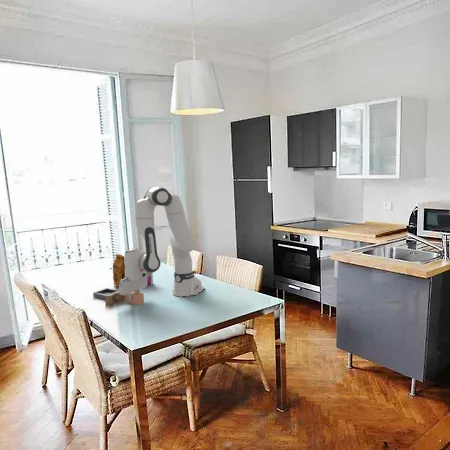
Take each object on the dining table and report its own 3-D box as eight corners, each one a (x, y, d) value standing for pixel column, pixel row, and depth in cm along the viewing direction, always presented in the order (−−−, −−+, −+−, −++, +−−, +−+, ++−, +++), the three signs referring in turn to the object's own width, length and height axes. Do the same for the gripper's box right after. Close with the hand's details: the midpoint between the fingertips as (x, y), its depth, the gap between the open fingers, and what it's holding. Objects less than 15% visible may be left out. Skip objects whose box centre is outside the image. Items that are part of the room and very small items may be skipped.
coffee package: (118, 289, 259) (116, 257, 256) (112, 285, 269) (110, 254, 266) (132, 286, 265) (131, 255, 262) (125, 282, 275) (124, 252, 271)
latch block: (129, 299, 238) (129, 290, 237) (144, 303, 231) (143, 293, 230) (124, 301, 234) (124, 292, 234) (139, 305, 228) (138, 295, 227)
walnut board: (135, 293, 249) (134, 284, 248) (138, 294, 247) (138, 285, 247) (105, 305, 229) (104, 295, 228) (109, 306, 227) (108, 296, 227)
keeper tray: (107, 292, 254) (106, 287, 253) (125, 296, 245) (125, 291, 244) (93, 297, 245) (93, 292, 244) (111, 301, 236) (111, 296, 235)
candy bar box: (135, 285, 267) (134, 262, 265) (137, 283, 272) (136, 260, 270) (151, 285, 266) (150, 262, 264) (153, 283, 271) (152, 260, 269)
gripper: (123, 281, 220) (124, 304, 222) (148, 272, 237) (149, 294, 239) (115, 279, 224) (117, 302, 226) (141, 271, 241) (142, 292, 243)
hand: (134, 298), depth 233 cm, fingers closed on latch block, 4 cm apart
